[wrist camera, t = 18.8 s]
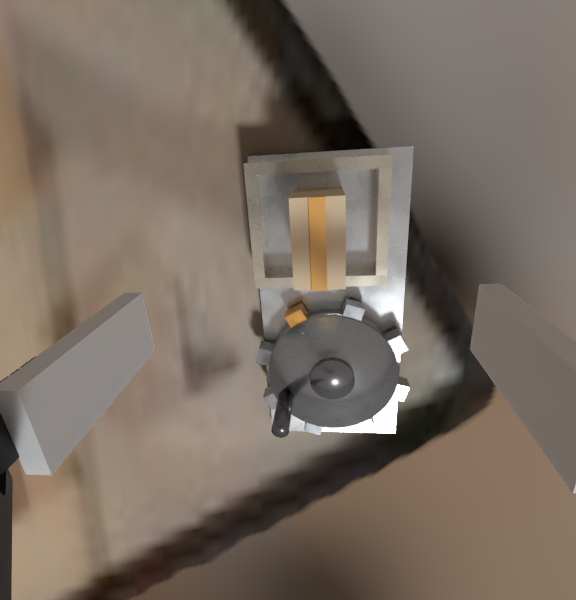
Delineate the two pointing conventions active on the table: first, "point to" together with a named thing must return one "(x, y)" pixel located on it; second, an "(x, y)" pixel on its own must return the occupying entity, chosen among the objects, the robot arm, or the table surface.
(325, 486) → the table surface
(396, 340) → the sprocket
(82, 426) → the robot arm
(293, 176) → the base plate
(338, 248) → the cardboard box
